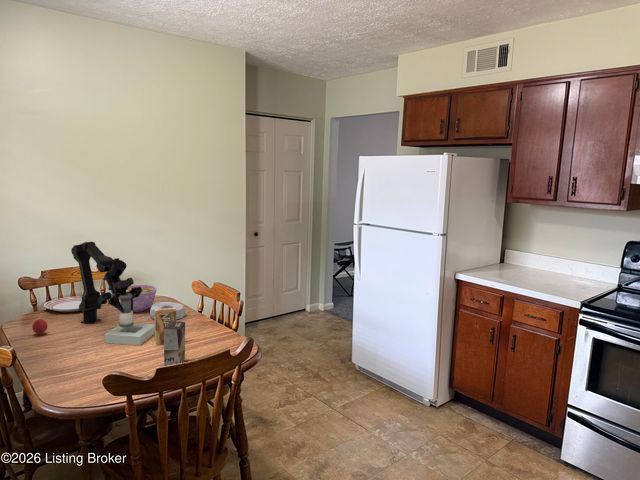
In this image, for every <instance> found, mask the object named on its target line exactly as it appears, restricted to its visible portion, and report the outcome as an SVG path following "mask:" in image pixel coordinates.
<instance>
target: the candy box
mask: <svg viewBox="0 0 640 480" xmlns="http://www.w3.org/2000/svg"><path fill="white" fill-rule="evenodd" d="M169 322H177V319H176V309H175V307H174V308H163V309H155V319H154V325H155V334H154V342H155V345H161V344H164V328H165V327H166V326H167V325H168V324H169Z"/></svg>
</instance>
